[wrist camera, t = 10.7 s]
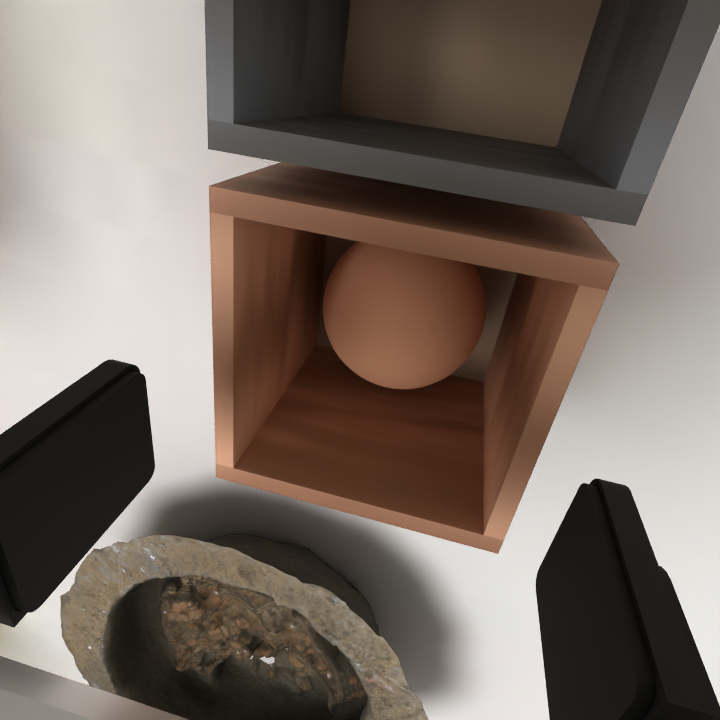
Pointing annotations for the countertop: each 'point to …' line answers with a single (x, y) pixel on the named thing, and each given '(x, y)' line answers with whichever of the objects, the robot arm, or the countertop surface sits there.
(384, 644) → the stone bowl
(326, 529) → the countertop surface
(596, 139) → the double bin organizer
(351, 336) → the ball
